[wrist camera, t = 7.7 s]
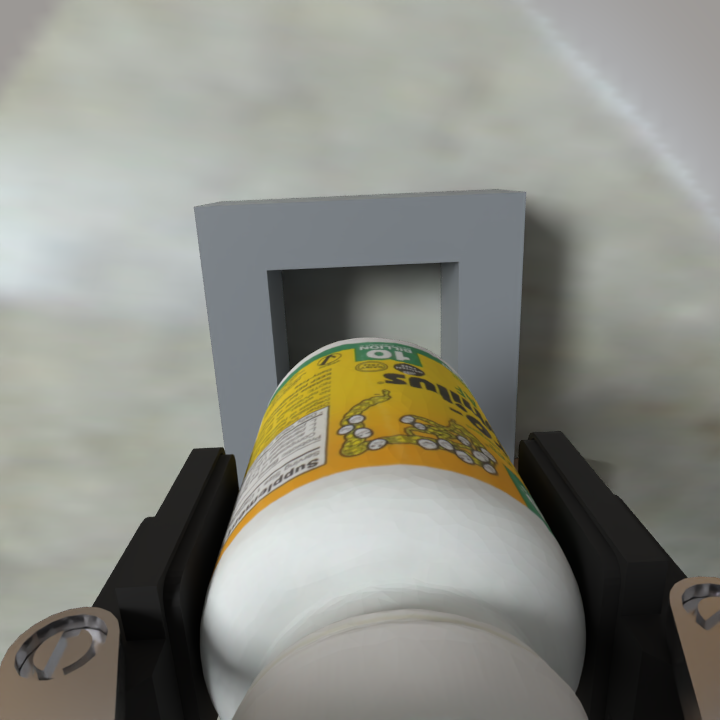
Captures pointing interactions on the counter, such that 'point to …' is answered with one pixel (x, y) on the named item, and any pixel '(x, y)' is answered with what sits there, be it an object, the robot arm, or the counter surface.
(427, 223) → the socket block
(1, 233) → the counter surface
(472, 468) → the supplement bottle
